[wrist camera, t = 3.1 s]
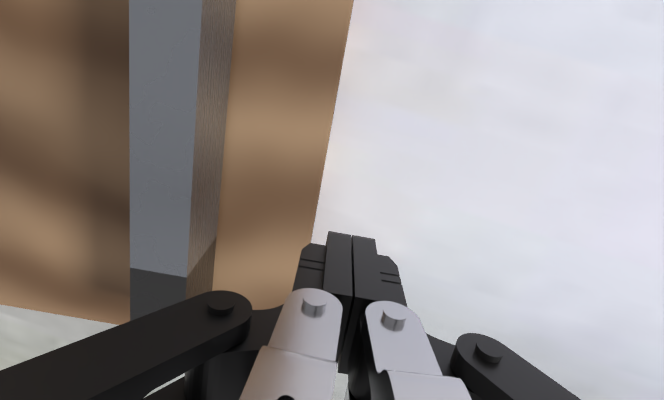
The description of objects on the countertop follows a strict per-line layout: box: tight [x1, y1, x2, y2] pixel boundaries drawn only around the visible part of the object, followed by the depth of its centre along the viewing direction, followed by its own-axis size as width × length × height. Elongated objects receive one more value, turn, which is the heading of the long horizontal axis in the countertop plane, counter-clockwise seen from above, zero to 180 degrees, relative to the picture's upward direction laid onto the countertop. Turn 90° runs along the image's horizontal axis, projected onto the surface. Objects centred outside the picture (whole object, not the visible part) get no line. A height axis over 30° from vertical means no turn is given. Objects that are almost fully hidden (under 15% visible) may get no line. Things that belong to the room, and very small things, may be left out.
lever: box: [129, 0, 236, 321], centre depth 15 cm, size 28×4×5 cm, turn 170°
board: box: [0, 0, 354, 325], centre depth 18 cm, size 32×24×2 cm
